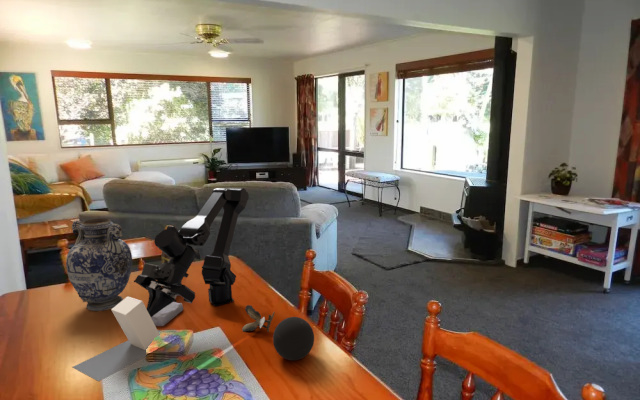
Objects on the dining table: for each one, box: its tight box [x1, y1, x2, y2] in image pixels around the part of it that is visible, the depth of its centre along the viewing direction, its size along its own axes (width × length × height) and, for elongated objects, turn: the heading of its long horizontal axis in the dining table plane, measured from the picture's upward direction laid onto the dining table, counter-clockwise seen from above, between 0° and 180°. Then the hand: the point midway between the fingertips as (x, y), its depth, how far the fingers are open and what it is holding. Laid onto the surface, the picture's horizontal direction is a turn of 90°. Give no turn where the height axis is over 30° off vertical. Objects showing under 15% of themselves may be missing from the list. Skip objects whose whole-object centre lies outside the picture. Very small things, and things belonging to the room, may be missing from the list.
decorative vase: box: [65, 217, 133, 312], centre depth 132 cm, size 21×19×28 cm
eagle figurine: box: [241, 304, 276, 333], centre depth 114 cm, size 8×7×9 cm
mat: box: [72, 329, 161, 382], centre depth 103 cm, size 22×11×1 cm, turn 148°
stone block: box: [151, 301, 184, 327], centre depth 123 cm, size 12×5×10 cm
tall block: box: [110, 295, 160, 350], centre depth 105 cm, size 5×6×12 cm
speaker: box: [272, 316, 315, 361], centre depth 100 cm, size 10×10×10 cm
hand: (146, 317), depth 107 cm, fingers closed
